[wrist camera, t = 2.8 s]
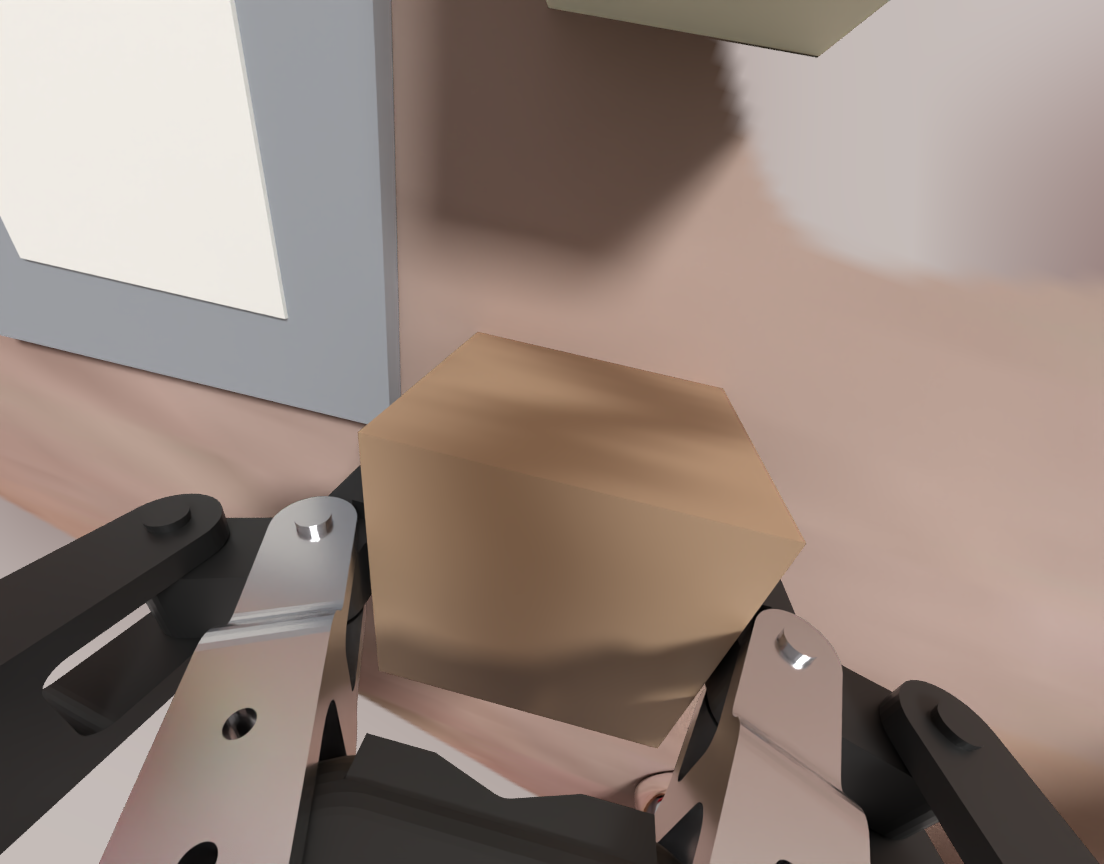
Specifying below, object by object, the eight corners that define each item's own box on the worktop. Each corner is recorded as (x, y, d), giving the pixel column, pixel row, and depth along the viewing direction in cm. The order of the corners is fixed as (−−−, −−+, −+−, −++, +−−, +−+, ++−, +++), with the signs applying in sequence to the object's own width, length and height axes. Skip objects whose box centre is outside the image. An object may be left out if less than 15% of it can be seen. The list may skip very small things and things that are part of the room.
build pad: (381, -387, 5) (348, -467, 4) (401, 419, 11) (388, 431, 11) (-414, -492, 6) (-535, -573, 5) (18, 327, 12) (-14, 333, 11)
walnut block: (723, 388, 9) (806, 543, 5) (646, 560, 12) (657, 748, 8) (477, 331, 10) (357, 432, 5) (462, 513, 13) (378, 670, 8)
